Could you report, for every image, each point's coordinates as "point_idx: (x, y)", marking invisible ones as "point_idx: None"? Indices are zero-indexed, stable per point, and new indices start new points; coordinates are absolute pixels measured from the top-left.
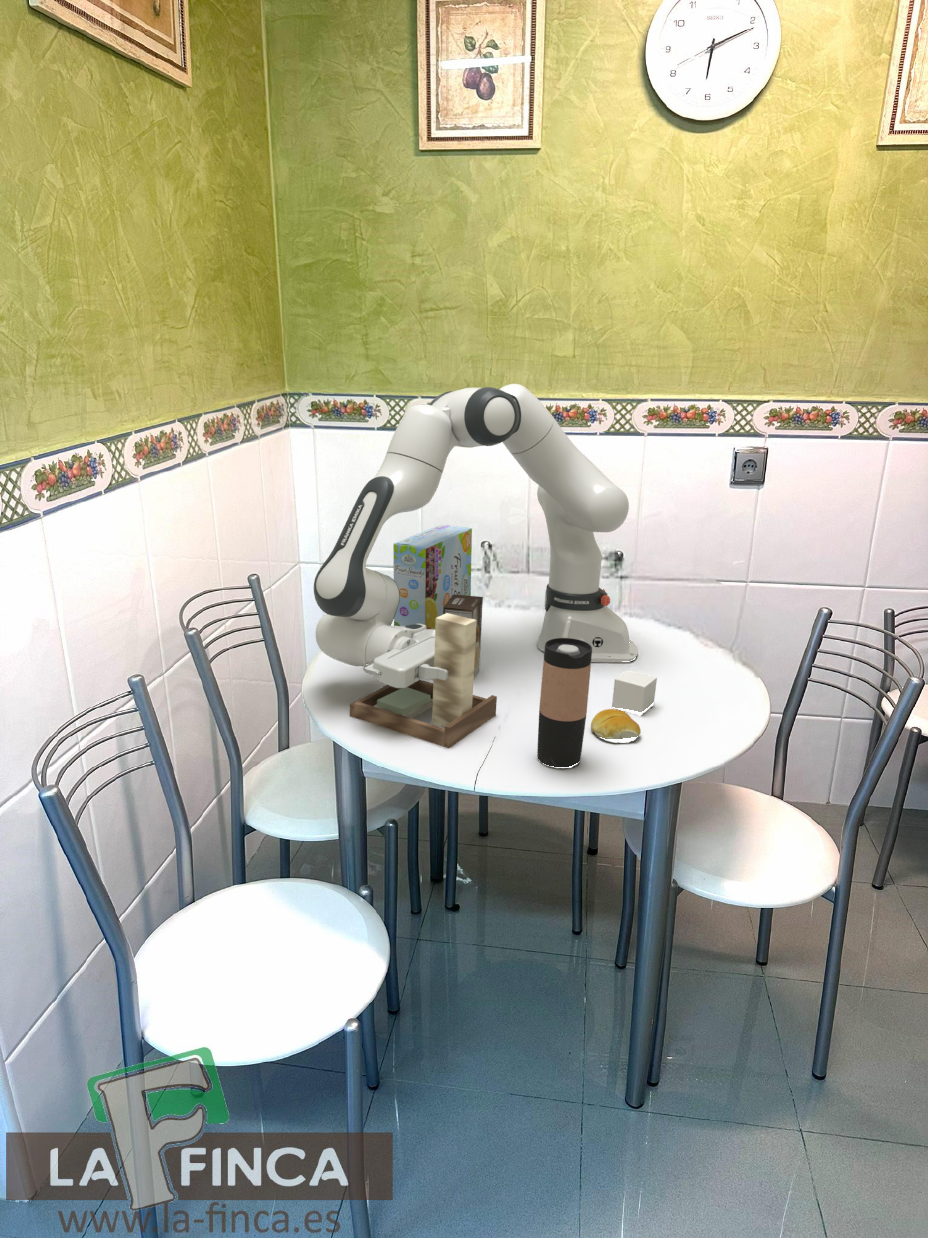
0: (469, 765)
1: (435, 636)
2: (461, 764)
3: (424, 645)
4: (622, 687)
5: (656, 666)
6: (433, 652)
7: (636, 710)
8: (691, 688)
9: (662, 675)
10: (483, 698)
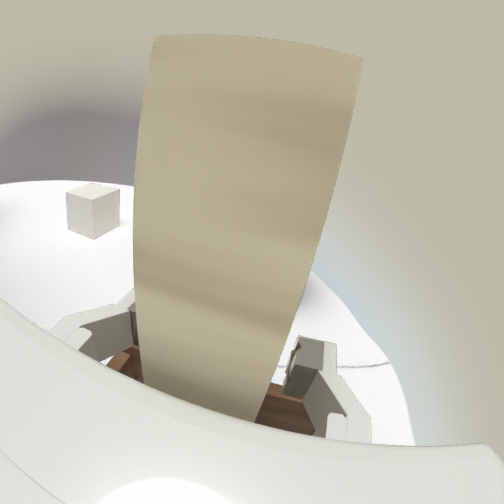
0: (358, 382)
1: (315, 251)
2: (363, 393)
3: (28, 471)
4: (100, 204)
5: (5, 208)
6: (172, 410)
7: (115, 222)
8: (59, 198)
9: (25, 207)
10: (110, 365)
